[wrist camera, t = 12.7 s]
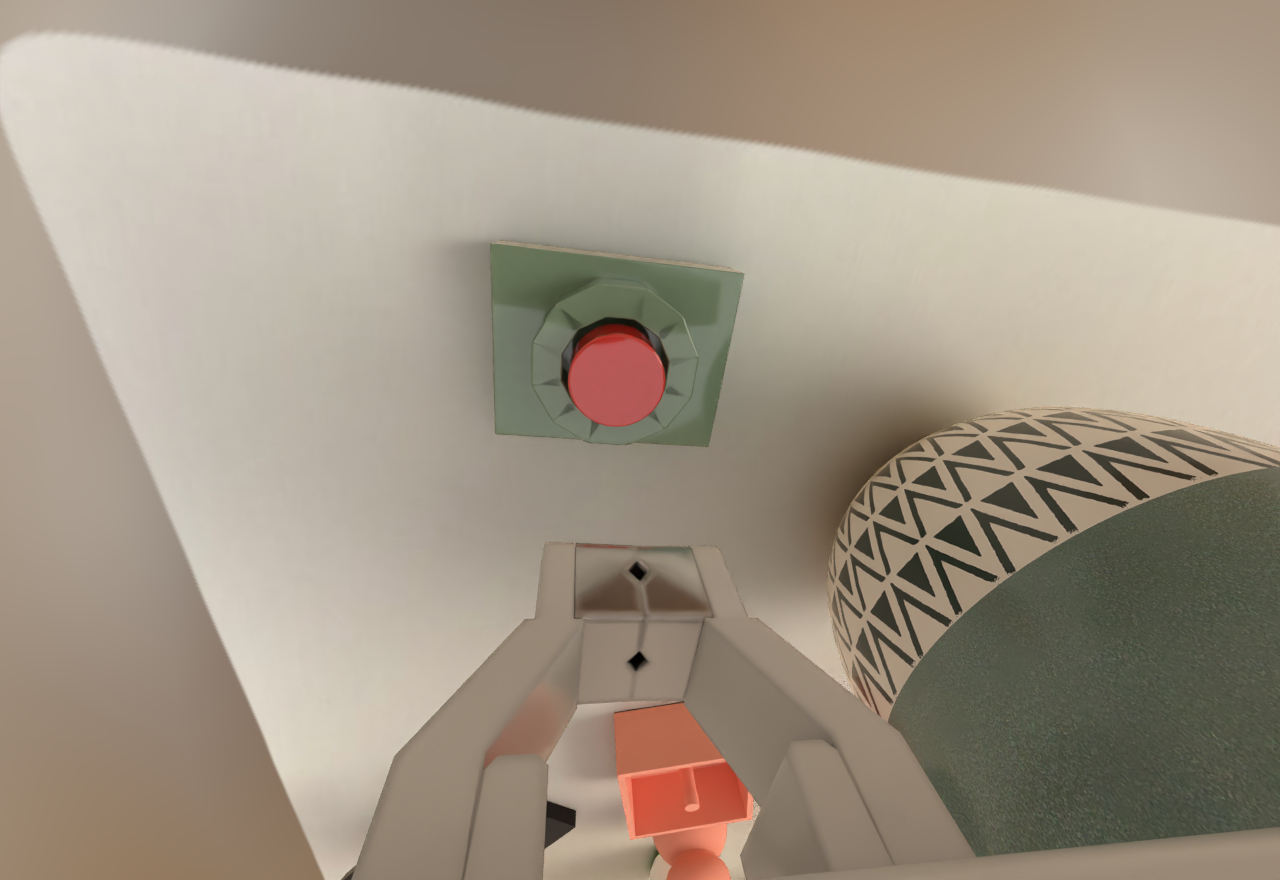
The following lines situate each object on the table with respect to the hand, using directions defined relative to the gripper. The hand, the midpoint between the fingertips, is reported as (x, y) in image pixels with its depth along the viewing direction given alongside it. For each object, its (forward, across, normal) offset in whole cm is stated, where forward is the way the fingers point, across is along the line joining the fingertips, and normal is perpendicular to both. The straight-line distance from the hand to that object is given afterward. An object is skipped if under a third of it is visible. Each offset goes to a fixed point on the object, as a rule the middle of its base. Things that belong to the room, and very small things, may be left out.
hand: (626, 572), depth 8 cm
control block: (+15, -1, 0) cm, 15 cm away
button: (+11, -1, 0) cm, 11 cm away
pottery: (+15, -10, +36) cm, 40 cm away
